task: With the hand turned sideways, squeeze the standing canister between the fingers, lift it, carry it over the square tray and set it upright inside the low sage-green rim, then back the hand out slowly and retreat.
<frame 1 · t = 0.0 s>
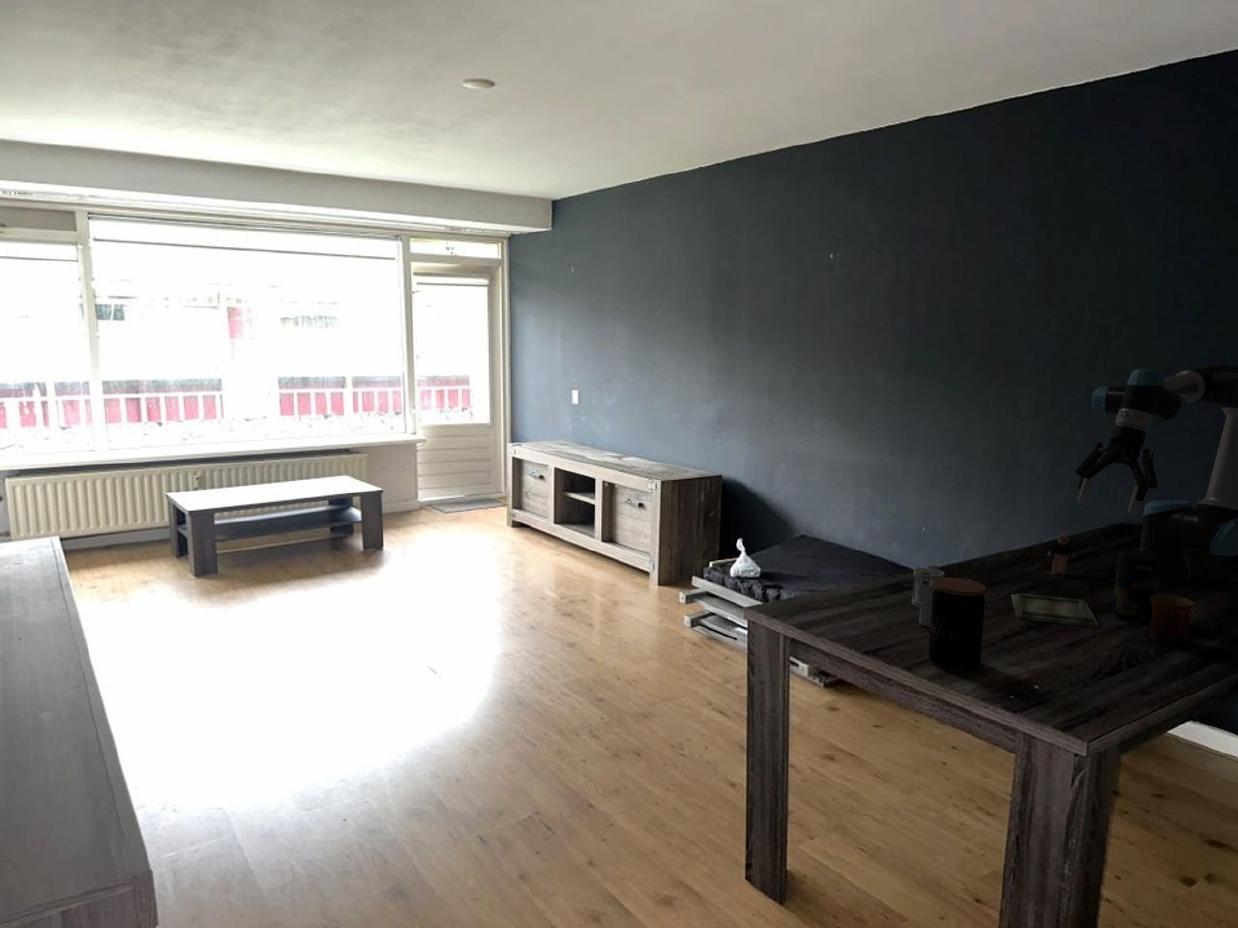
hand: (1105, 507, 210), 28 cm above the table, tool tilted 20°, fingers open, 13 cm apart
canister: (1133, 618, 210), on the table
grandmother figurine: (1060, 574, 248), on the table
square tray: (1052, 611, 214), on the table
coffee jar: (953, 663, 180), on the table
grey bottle: (925, 626, 203), on the table
mug: (1170, 644, 192), on the table
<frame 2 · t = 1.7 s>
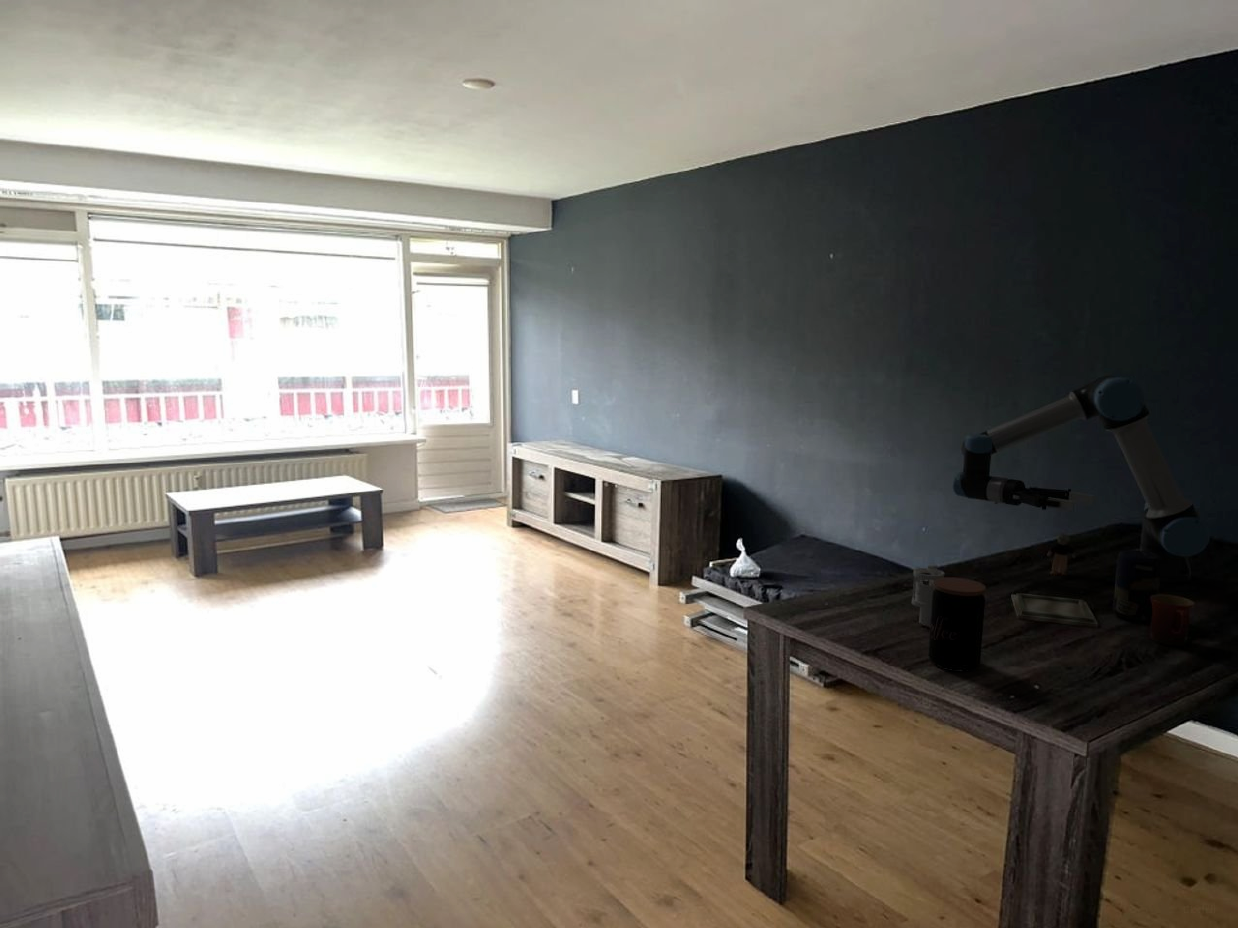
hand: (1084, 503, 225), 26 cm above the table, tool horizontal, fingers open, 13 cm apart
nothing on the table moved.
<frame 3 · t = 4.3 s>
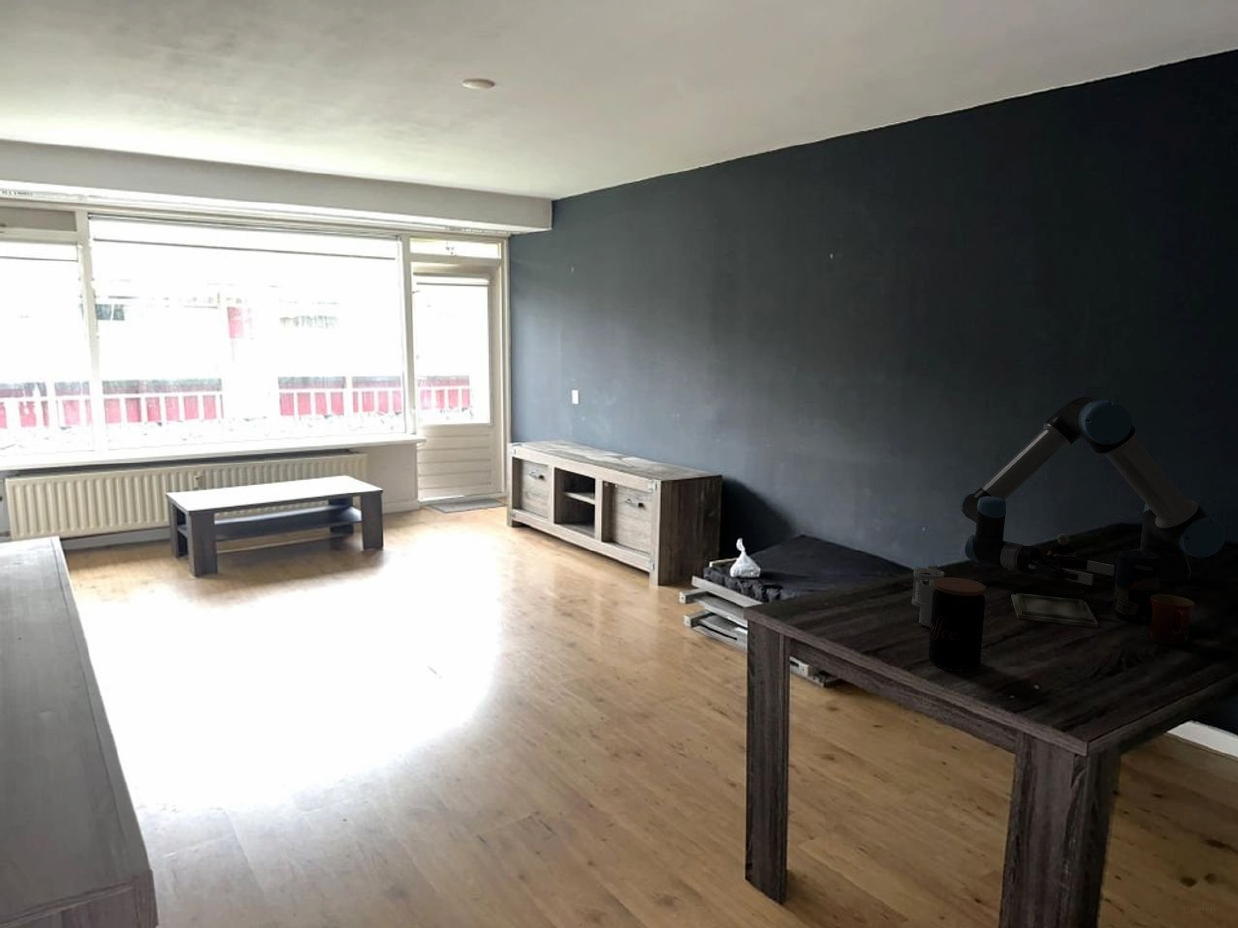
hand: (1103, 575, 214), 9 cm above the table, tool horizontal, fingers open, 13 cm apart
nothing on the table moved.
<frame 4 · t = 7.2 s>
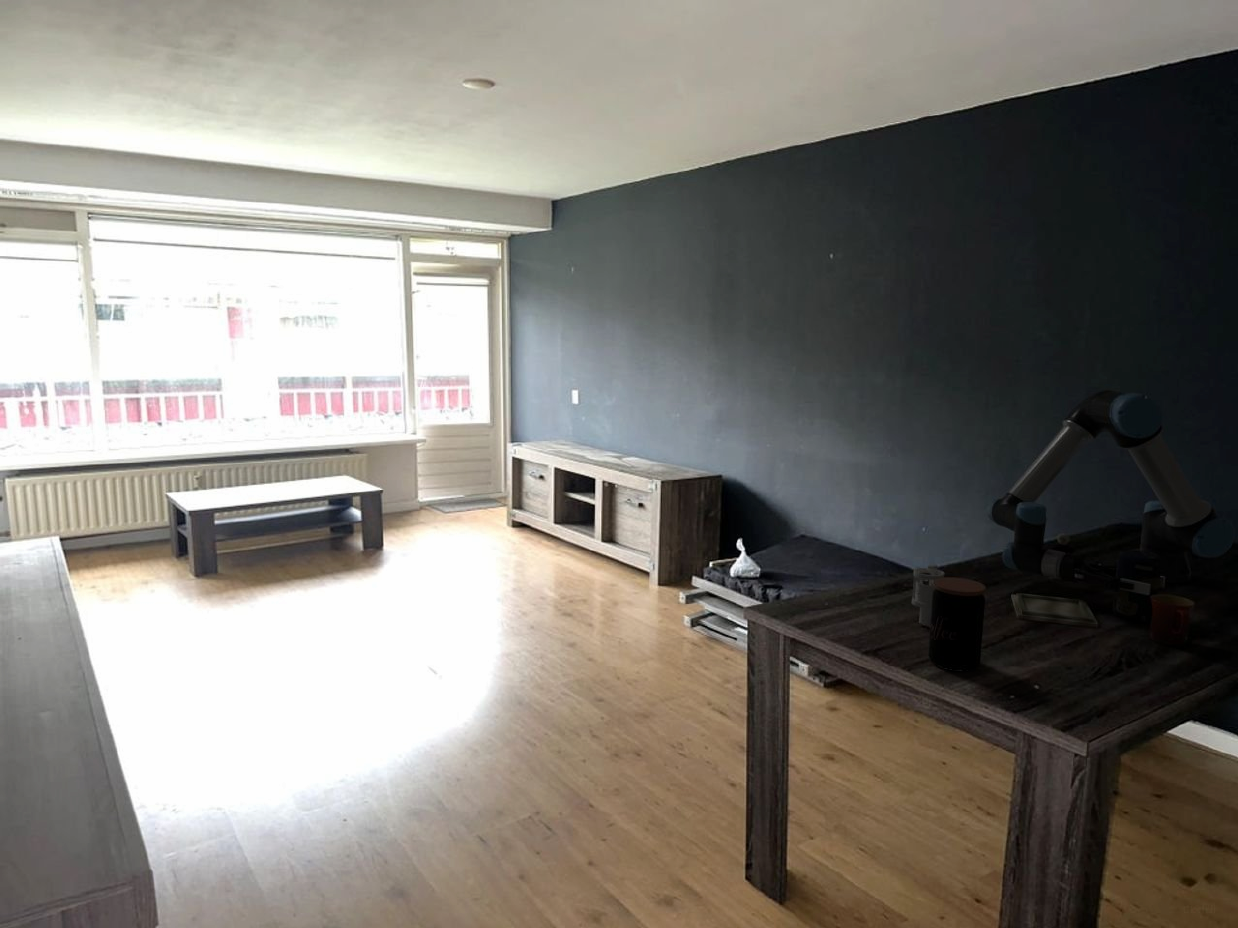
hand: (1157, 585, 205), 10 cm above the table, tool horizontal, fingers closed on canister, 9 cm apart
canister: (1133, 618, 210), on the table, touching gripper
everything else where it was.
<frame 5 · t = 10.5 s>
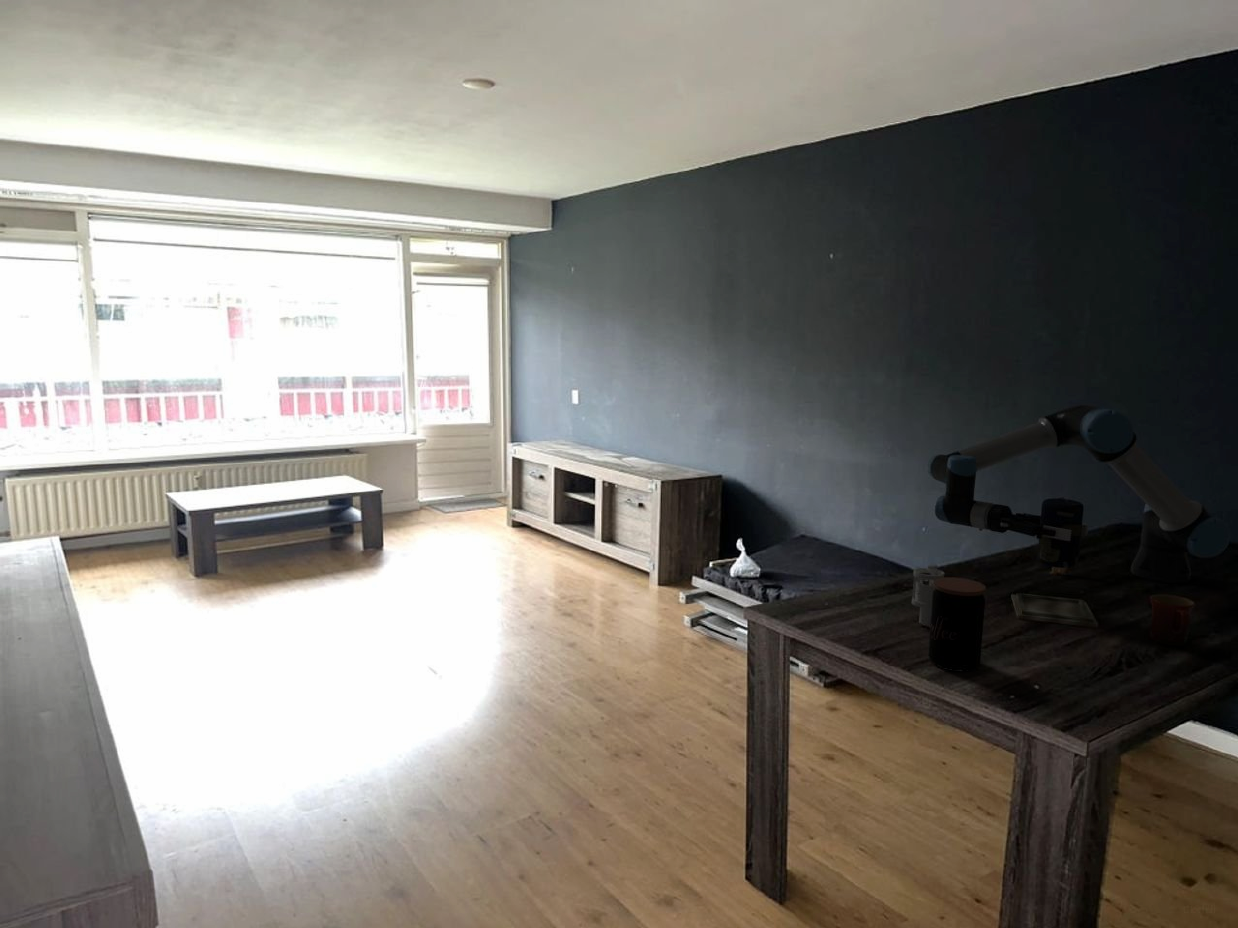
hand: (1078, 532, 207), 22 cm above the table, tool horizontal, fingers closed on canister, 9 cm apart
canister: (1056, 565, 212), point 12 cm above the table, touching gripper
everything else where it was.
when the fingers open (11 cm above the table, at t = 14.0 s): canister stays where it is, resting on square tray.
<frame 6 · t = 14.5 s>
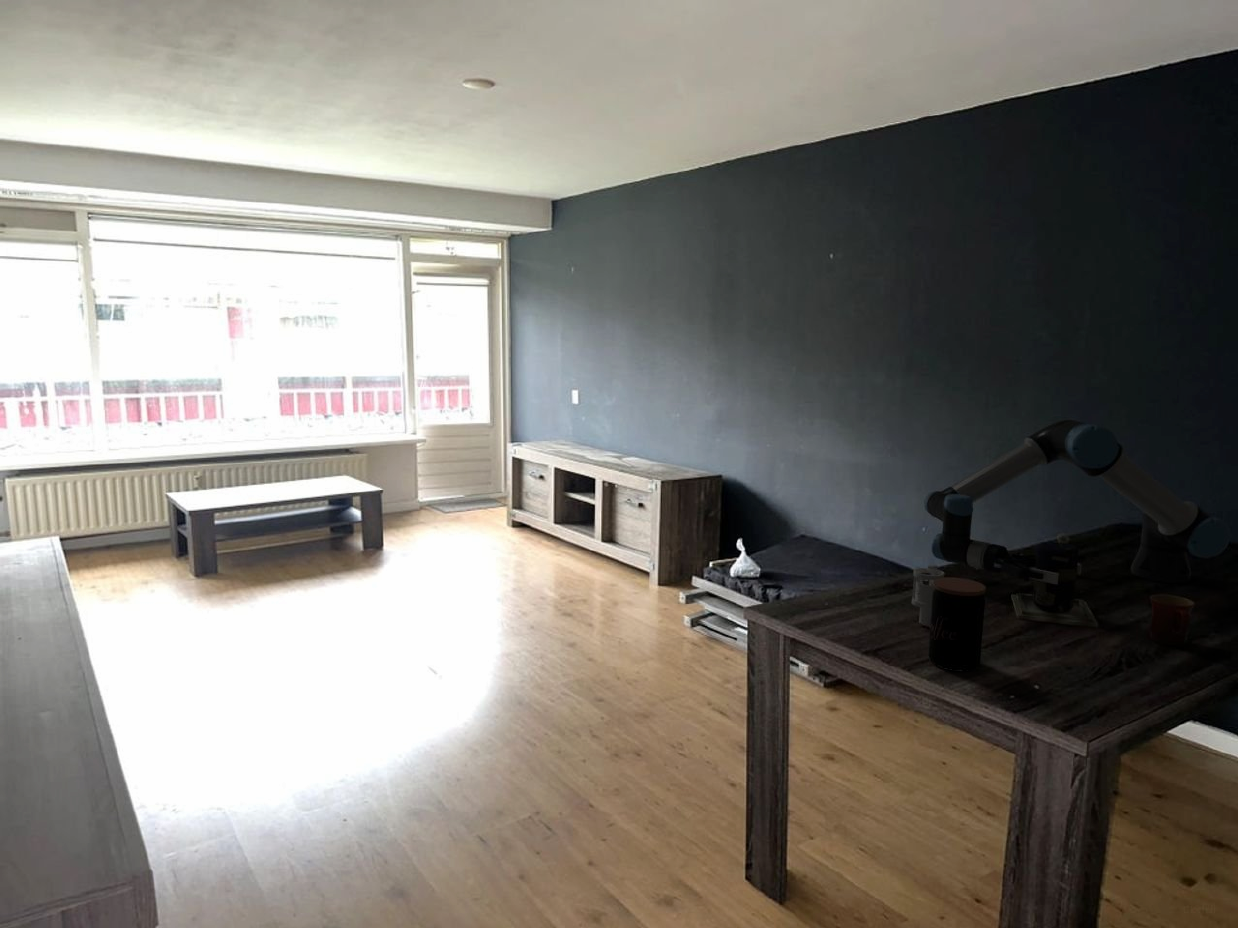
hand: (1069, 574, 210), 11 cm above the table, tool horizontal, fingers open, 13 cm apart
canister: (1052, 608, 214), point 1 cm above the table, touching square tray
everything else where it was.
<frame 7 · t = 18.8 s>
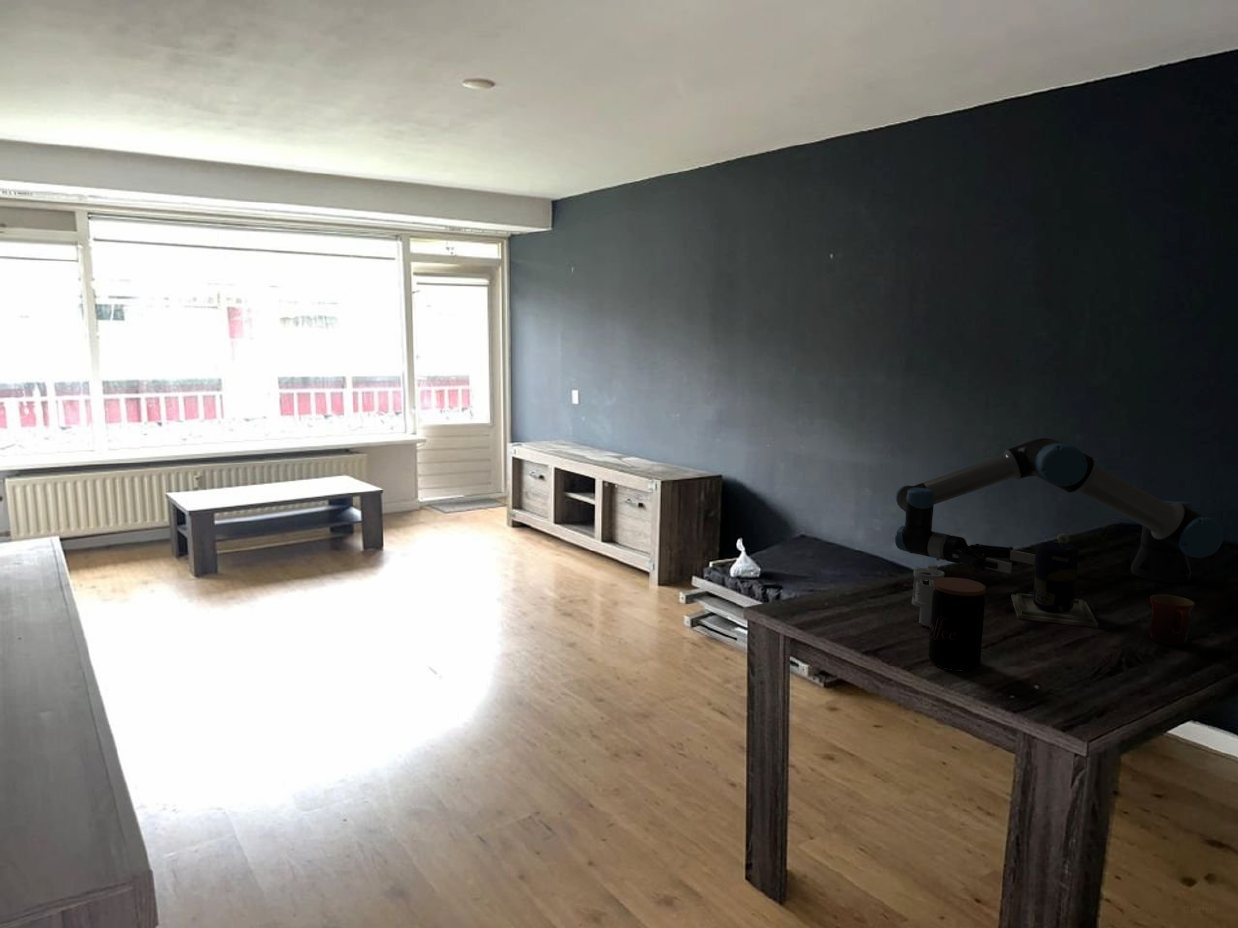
hand: (1023, 564, 218), 11 cm above the table, tool horizontal, fingers open, 13 cm apart
nothing on the table moved.
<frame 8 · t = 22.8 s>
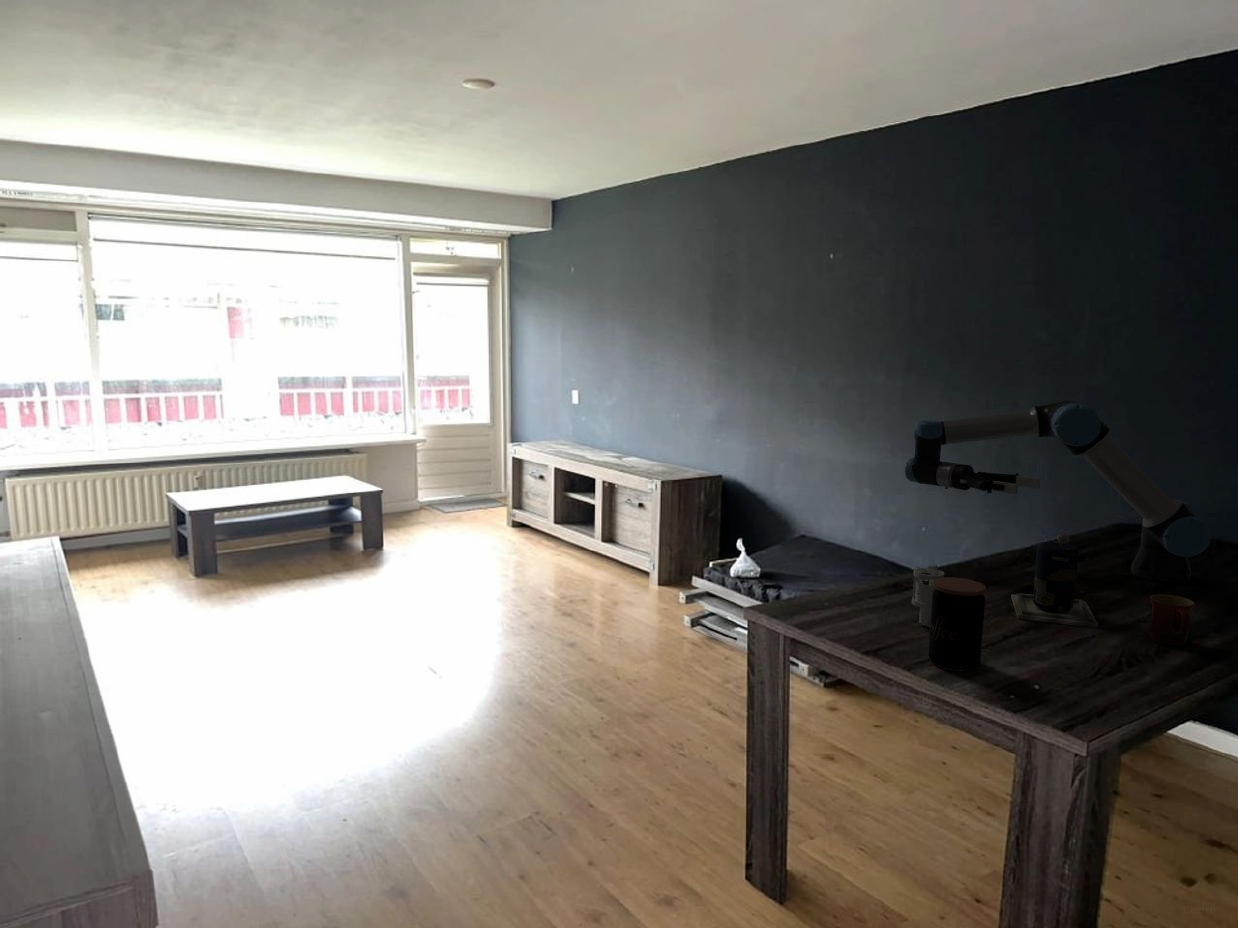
hand: (1028, 486, 227), 30 cm above the table, tool horizontal, fingers open, 13 cm apart
nothing on the table moved.
at the end: canister inside the target area on the square tray (0.1 cm from its centre), point 0.8 cm above the square tray's base; canister tilted 0°; the gripper is holding nothing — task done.
